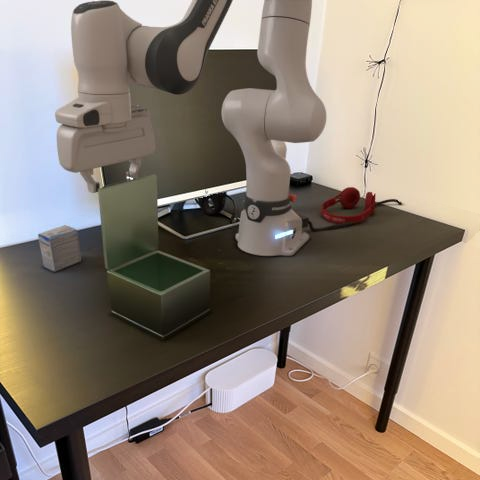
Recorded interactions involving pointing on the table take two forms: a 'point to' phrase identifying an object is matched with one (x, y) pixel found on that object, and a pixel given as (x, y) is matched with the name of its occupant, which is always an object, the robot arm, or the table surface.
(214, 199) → the controller
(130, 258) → the lid
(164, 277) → the green hollow box
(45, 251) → the medicine box
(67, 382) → the table surface
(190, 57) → the robot arm
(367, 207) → the headphones
